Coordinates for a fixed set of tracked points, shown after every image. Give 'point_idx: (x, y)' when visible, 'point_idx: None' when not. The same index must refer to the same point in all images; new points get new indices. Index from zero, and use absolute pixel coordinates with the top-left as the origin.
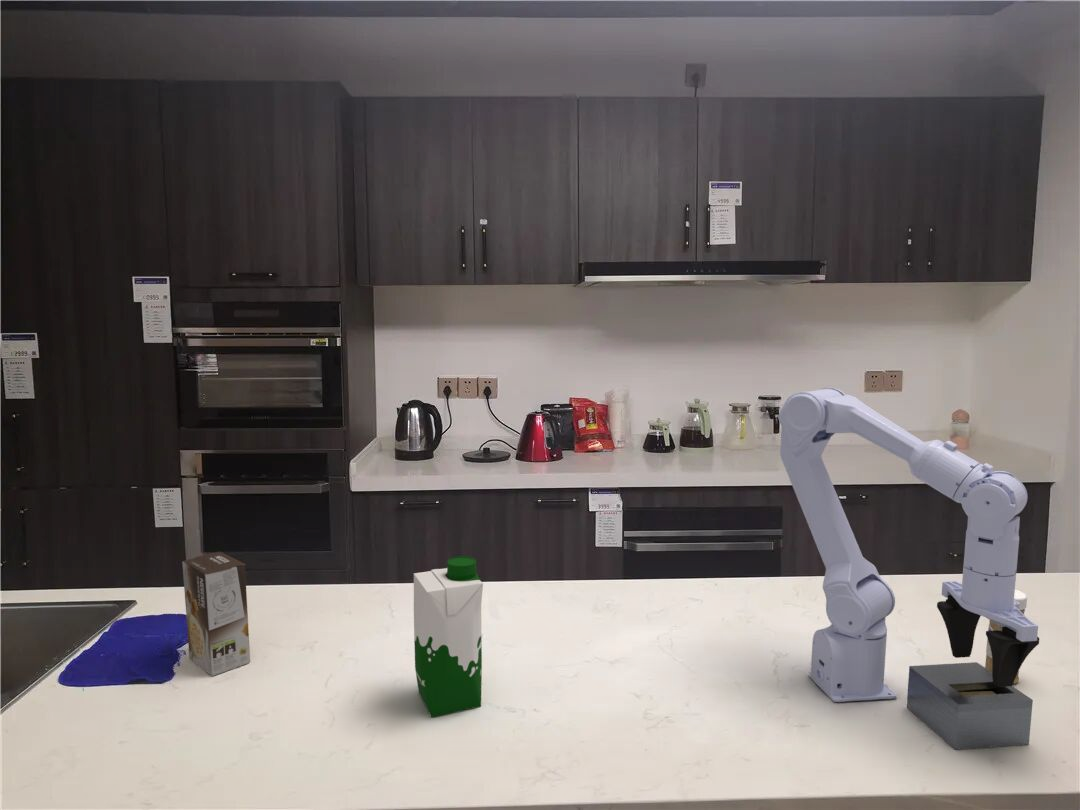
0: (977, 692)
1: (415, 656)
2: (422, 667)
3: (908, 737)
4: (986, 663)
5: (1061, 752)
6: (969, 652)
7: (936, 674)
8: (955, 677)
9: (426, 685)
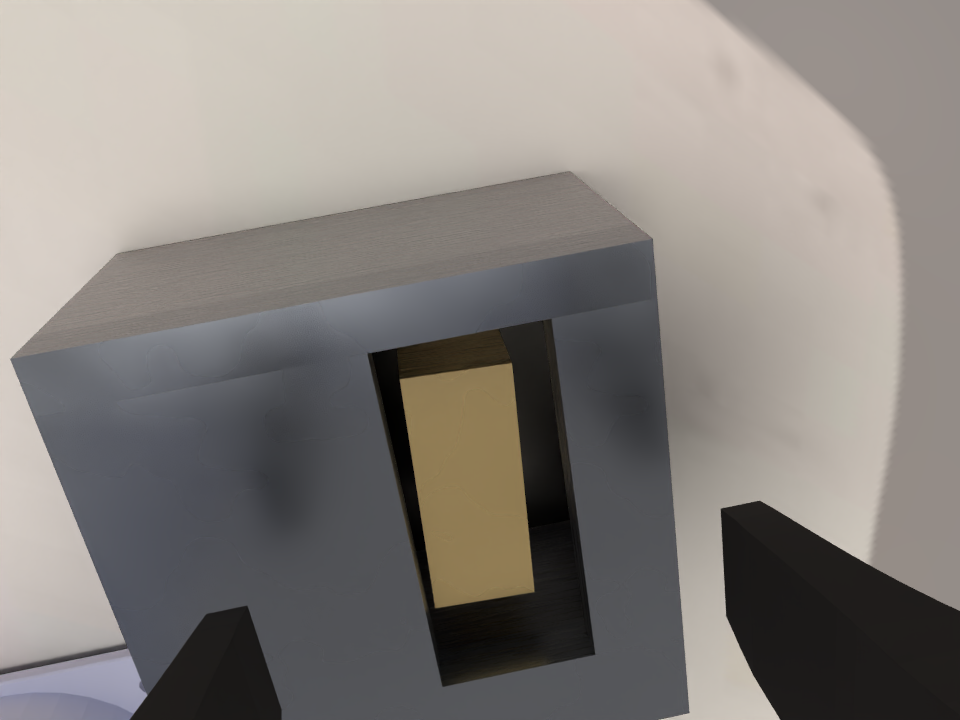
0: (429, 483)
1: None
2: None
3: None
4: None
5: (643, 22)
6: (240, 638)
7: (301, 708)
8: (332, 613)
9: None
